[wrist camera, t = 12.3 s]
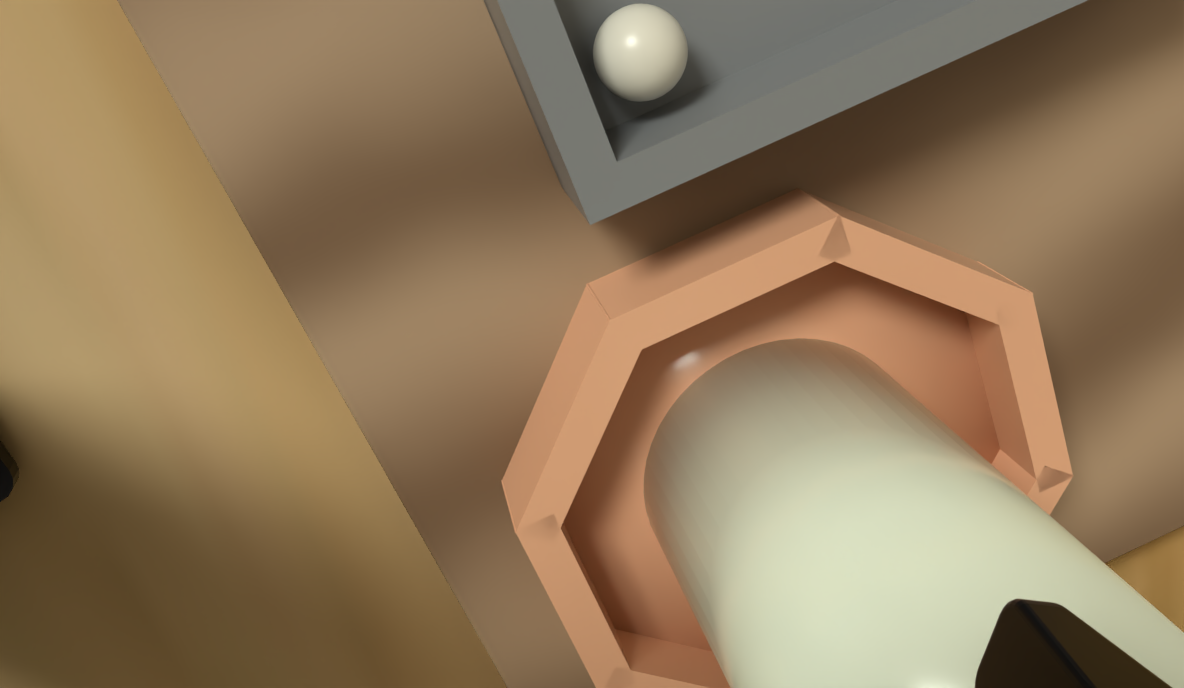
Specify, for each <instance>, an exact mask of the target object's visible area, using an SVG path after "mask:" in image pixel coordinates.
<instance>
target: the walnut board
mask: <svg viewBox="0 0 1184 688" xmlns="http://www.w3.org/2000/svg"><path fill="white" fill-rule="evenodd" d="M117 1H118V2H119V4H120V6H121V8H122V10H123V11H124V13H125V15H126V17H127V18H128V20H129V22H130V24H131V25H132V27H133V29H134V31H135V32H136V34H137V36H138V38H139V39H140V41H141V43H142V45H143V47H144V48H145V50H146V52H147V54H148V55H149V57H150V59H151V61H152V62H153V64H154V66H155V68H156V69H157V71H158V73H159V75H160V76H161V78H162V80H163V82H164V84H165V85H166V87H167V89H168V91H169V92H170V94H171V96H172V98H173V99H174V101H175V103H176V105H177V106H178V108H179V110H180V112H181V113H182V115H183V117H184V119H185V121H186V122H187V124H188V126H189V128H190V129H191V131H192V133H193V135H194V136H195V138H196V140H197V142H198V143H199V145H200V147H201V149H202V150H203V152H204V154H205V156H206V158H207V159H208V161H209V163H210V165H211V166H212V168H213V170H214V172H215V173H216V175H217V177H218V179H219V180H220V182H221V184H222V186H223V188H224V189H225V191H226V193H227V195H228V196H229V198H230V200H231V202H232V203H233V205H234V207H235V209H236V210H237V212H238V214H239V216H240V217H241V219H242V221H243V223H244V225H245V226H246V228H247V230H248V232H249V233H250V235H251V237H252V239H253V240H254V242H255V244H256V246H257V247H258V249H259V251H260V253H261V254H262V256H263V258H264V260H265V262H266V263H267V265H268V267H269V269H270V270H271V272H272V274H273V276H274V277H275V279H276V281H277V283H278V284H279V286H280V288H281V290H282V291H283V293H284V295H285V297H286V299H287V300H288V302H289V304H290V306H291V307H292V309H293V311H294V313H295V314H296V316H297V318H298V320H299V321H300V323H301V325H302V327H303V328H304V330H305V332H306V334H307V336H308V337H309V339H310V341H311V343H312V344H313V346H314V348H315V350H316V351H317V353H318V355H319V357H320V358H321V360H322V362H323V364H324V365H325V367H326V369H327V371H328V373H329V374H330V376H331V378H332V380H333V381H334V383H335V385H336V387H337V388H338V390H339V392H340V394H341V395H342V397H343V399H344V401H345V402H346V404H347V406H348V408H349V410H350V411H351V413H352V415H353V417H354V418H355V420H356V422H357V424H358V425H359V427H360V429H361V431H362V432H363V434H364V436H365V438H366V440H367V441H368V443H369V445H370V447H371V448H372V450H373V452H374V454H375V455H376V457H377V459H378V461H379V462H380V464H381V466H382V468H383V469H384V471H385V473H386V475H387V477H388V478H389V480H390V482H391V484H392V485H393V487H394V489H395V491H396V492H397V494H398V496H399V498H400V499H401V501H402V503H403V505H404V506H405V508H406V510H407V512H408V514H409V515H410V517H411V519H412V521H413V522H414V524H415V526H416V528H417V529H418V531H419V533H420V535H421V536H422V538H423V540H424V542H425V543H426V545H427V547H428V549H429V551H430V552H431V554H432V556H433V558H434V559H435V561H436V563H437V565H438V566H439V568H440V570H441V572H442V573H443V575H444V577H445V579H446V580H447V582H448V584H449V586H450V588H451V589H452V591H453V593H454V595H455V596H456V598H457V600H458V602H459V603H460V605H461V607H462V609H463V610H464V612H465V614H466V616H467V617H468V619H469V621H470V623H471V625H472V626H473V628H474V630H475V632H476V633H477V635H478V637H479V639H480V640H481V642H482V644H483V646H484V647H485V649H486V651H487V653H488V654H489V656H490V658H491V660H492V662H493V663H494V665H495V667H496V669H497V670H498V672H499V674H500V676H501V677H502V679H503V681H504V683H505V684H506V686H507V688H596V687H595V685H594V683H593V681H592V679H591V677H590V675H589V673H588V671H587V669H586V667H585V665H584V664H583V662H582V660H581V658H580V656H579V654H578V652H577V650H576V648H575V646H574V644H573V642H572V640H571V638H570V636H569V635H568V633H567V631H566V629H565V627H564V625H563V623H562V621H561V619H560V617H559V615H558V613H557V611H556V609H555V607H554V606H553V604H552V602H551V600H550V598H549V596H548V594H547V592H546V590H545V588H544V586H543V584H542V582H541V580H540V579H539V577H538V575H537V573H536V571H535V569H534V567H533V565H532V563H531V561H530V559H529V557H528V555H527V553H526V551H525V550H524V548H523V546H522V544H521V542H520V540H519V538H518V536H517V534H516V533H515V531H514V527H513V523H512V520H511V516H510V512H509V508H508V505H507V501H506V497H505V494H504V490H503V486H502V483H501V482H502V481H501V480H502V479H503V477H504V475H505V472H506V470H507V468H508V465H509V463H510V461H511V458H512V456H513V454H514V452H515V449H516V447H517V445H518V442H519V440H520V438H521V435H522V433H523V431H524V428H525V426H526V424H527V421H528V419H529V417H530V414H531V412H532V410H533V408H534V405H535V403H536V401H537V398H538V396H539V394H540V391H541V389H542V387H543V384H544V382H545V380H546V377H547V375H548V373H549V370H550V368H551V366H552V363H553V361H554V359H555V357H556V354H557V352H558V350H559V347H560V345H561V343H562V340H563V338H564V336H565V333H566V331H567V329H568V326H569V324H570V322H571V319H572V317H573V315H574V312H575V310H576V308H577V306H578V303H579V301H580V299H581V296H582V294H583V292H584V289H585V287H586V284H587V283H590V282H592V281H594V280H597V279H599V278H601V277H603V276H606V275H608V274H610V273H612V272H614V271H617V270H619V269H621V268H623V267H625V266H628V265H630V264H632V263H634V262H636V261H639V260H641V259H643V258H645V257H647V256H650V255H652V254H654V253H656V252H658V251H661V250H663V249H665V248H667V247H669V246H672V245H674V244H676V243H678V242H680V241H683V240H685V239H687V238H689V237H691V236H694V235H696V234H698V233H700V232H702V231H705V230H707V229H709V228H711V227H713V226H716V225H718V224H720V223H722V222H724V221H727V220H729V219H731V218H733V217H735V216H738V215H740V214H742V213H744V212H746V211H749V210H751V209H753V208H755V207H757V206H760V205H762V204H764V203H766V202H768V201H771V200H773V199H775V198H777V197H780V196H782V195H784V194H786V193H788V192H791V191H793V190H795V189H796V188H799V189H801V190H802V191H805V192H807V193H810V194H812V195H815V196H817V197H819V198H822V199H824V200H827V201H829V202H832V203H834V204H837V205H839V206H842V207H844V208H847V209H849V210H851V211H854V212H856V213H859V214H861V215H864V216H866V217H869V218H871V219H874V220H876V221H878V222H881V223H883V224H886V225H888V226H891V227H893V228H896V229H898V230H901V231H903V232H906V233H908V234H910V235H913V236H915V237H918V238H920V239H923V240H925V241H928V242H930V243H933V244H935V245H938V246H940V247H942V248H945V249H947V250H950V251H952V252H955V253H957V254H960V255H962V256H965V257H967V258H970V259H972V260H974V261H979V262H980V263H982V264H984V265H986V266H987V267H989V268H991V269H992V270H994V271H996V272H998V273H999V274H1001V275H1003V276H1005V277H1006V278H1008V279H1010V280H1012V281H1013V282H1015V283H1017V284H1018V285H1020V286H1022V287H1024V288H1025V289H1027V290H1029V291H1031V292H1032V293H1033V297H1034V302H1035V306H1036V311H1037V315H1038V320H1039V324H1040V329H1041V333H1042V338H1043V342H1044V347H1045V352H1046V356H1047V361H1048V365H1049V370H1050V374H1051V379H1052V383H1053V388H1054V392H1055V397H1056V401H1057V406H1058V410H1059V415H1060V419H1061V424H1062V428H1063V433H1064V437H1065V442H1066V446H1067V451H1068V455H1069V460H1070V464H1071V469H1072V473H1073V475H1074V476H1073V477H1072V479H1071V481H1070V482H1069V484H1068V486H1067V487H1066V489H1065V491H1064V492H1063V494H1062V496H1061V497H1060V499H1059V501H1058V502H1057V504H1056V506H1055V507H1054V509H1053V511H1052V512H1051V514H1050V516H1051V517H1052V518H1053V519H1054V520H1056V521H1057V522H1058V523H1059V524H1060V525H1061V526H1062V527H1064V528H1065V529H1066V530H1067V531H1068V532H1069V533H1070V534H1072V535H1073V536H1074V537H1075V538H1076V539H1077V540H1078V541H1080V542H1081V543H1082V544H1083V545H1084V546H1085V547H1086V548H1088V549H1089V550H1090V551H1091V552H1092V553H1093V554H1094V555H1096V556H1097V557H1098V558H1099V559H1100V560H1101V561H1102V562H1104V563H1106V562H1108V561H1110V560H1112V559H1114V558H1117V557H1119V556H1121V555H1123V554H1125V553H1127V552H1129V551H1131V550H1133V549H1136V548H1138V547H1140V546H1142V545H1144V544H1146V543H1148V542H1150V541H1152V540H1155V539H1157V538H1159V537H1161V536H1163V535H1165V534H1167V533H1169V532H1171V531H1174V530H1176V529H1178V528H1180V527H1182V526H1184V0H1087V1H1085V2H1083V3H1081V4H1078V5H1076V6H1074V7H1072V8H1070V9H1067V10H1065V11H1063V12H1061V13H1059V14H1056V15H1054V16H1052V17H1050V18H1047V19H1045V20H1043V21H1041V22H1039V23H1036V24H1034V25H1032V26H1030V27H1028V28H1025V29H1023V30H1021V31H1019V32H1017V33H1014V34H1012V35H1010V36H1008V37H1005V38H1003V39H1001V40H999V41H997V42H994V43H992V44H990V45H988V46H986V47H983V48H981V49H979V50H977V51H974V52H972V53H970V54H968V55H966V56H963V57H961V58H959V59H957V60H955V61H952V62H950V63H948V64H946V65H943V66H941V67H939V68H937V69H935V70H932V71H930V72H928V73H926V74H924V75H921V76H919V77H917V78H915V79H912V80H910V81H908V82H906V83H904V84H901V85H899V86H897V87H895V88H893V89H890V90H888V91H886V92H884V93H882V94H879V95H877V96H875V97H873V98H870V99H868V100H866V101H864V102H862V103H859V104H857V105H855V106H853V107H851V108H848V109H846V110H844V111H842V112H839V113H837V114H835V115H833V116H831V117H828V118H826V119H824V120H822V121H820V122H817V123H815V124H813V125H811V126H808V127H806V128H804V129H802V130H800V131H797V132H795V133H793V134H791V135H789V136H786V137H784V138H782V139H780V140H778V141H775V142H773V143H771V144H769V145H766V146H764V147H762V148H760V149H758V150H755V151H753V152H751V153H749V154H747V155H744V156H742V157H740V158H738V159H735V160H733V161H731V162H729V163H727V164H724V165H722V166H720V167H718V168H716V169H713V170H711V171H709V172H707V173H704V174H702V175H700V176H698V177H696V178H693V179H691V180H689V181H687V182H685V183H682V184H680V185H678V186H676V187H673V188H671V189H669V190H667V191H665V192H662V193H660V194H658V195H656V196H654V197H651V198H649V199H647V200H645V201H643V202H640V203H638V204H636V205H634V206H631V207H629V208H627V209H625V210H623V211H620V212H618V213H616V214H614V215H612V216H609V217H607V218H605V219H603V220H600V221H598V222H596V223H594V224H592V225H590V224H589V223H588V222H587V220H586V219H585V218H584V216H583V215H582V214H581V212H580V211H579V210H578V208H577V207H576V206H575V204H574V203H573V202H572V200H571V199H570V198H569V196H568V195H567V194H566V192H565V191H564V190H563V188H562V187H561V184H560V182H559V180H558V177H557V175H556V173H555V170H554V168H553V165H552V163H551V161H550V158H549V156H548V153H547V151H546V149H545V146H544V144H543V141H542V139H541V137H540V134H539V132H538V130H537V127H536V125H535V122H534V120H533V118H532V115H531V113H530V110H529V108H528V106H527V103H526V101H525V98H524V96H523V94H522V91H521V89H520V87H519V84H518V82H517V79H516V77H515V75H514V72H513V70H512V67H511V65H510V63H509V60H508V58H507V55H506V53H505V51H504V48H503V46H502V44H501V41H500V39H499V36H498V34H497V32H496V29H495V27H494V24H493V22H492V20H491V17H490V15H489V13H488V10H487V8H486V5H485V3H484V1H483V0H117Z"/></svg>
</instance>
